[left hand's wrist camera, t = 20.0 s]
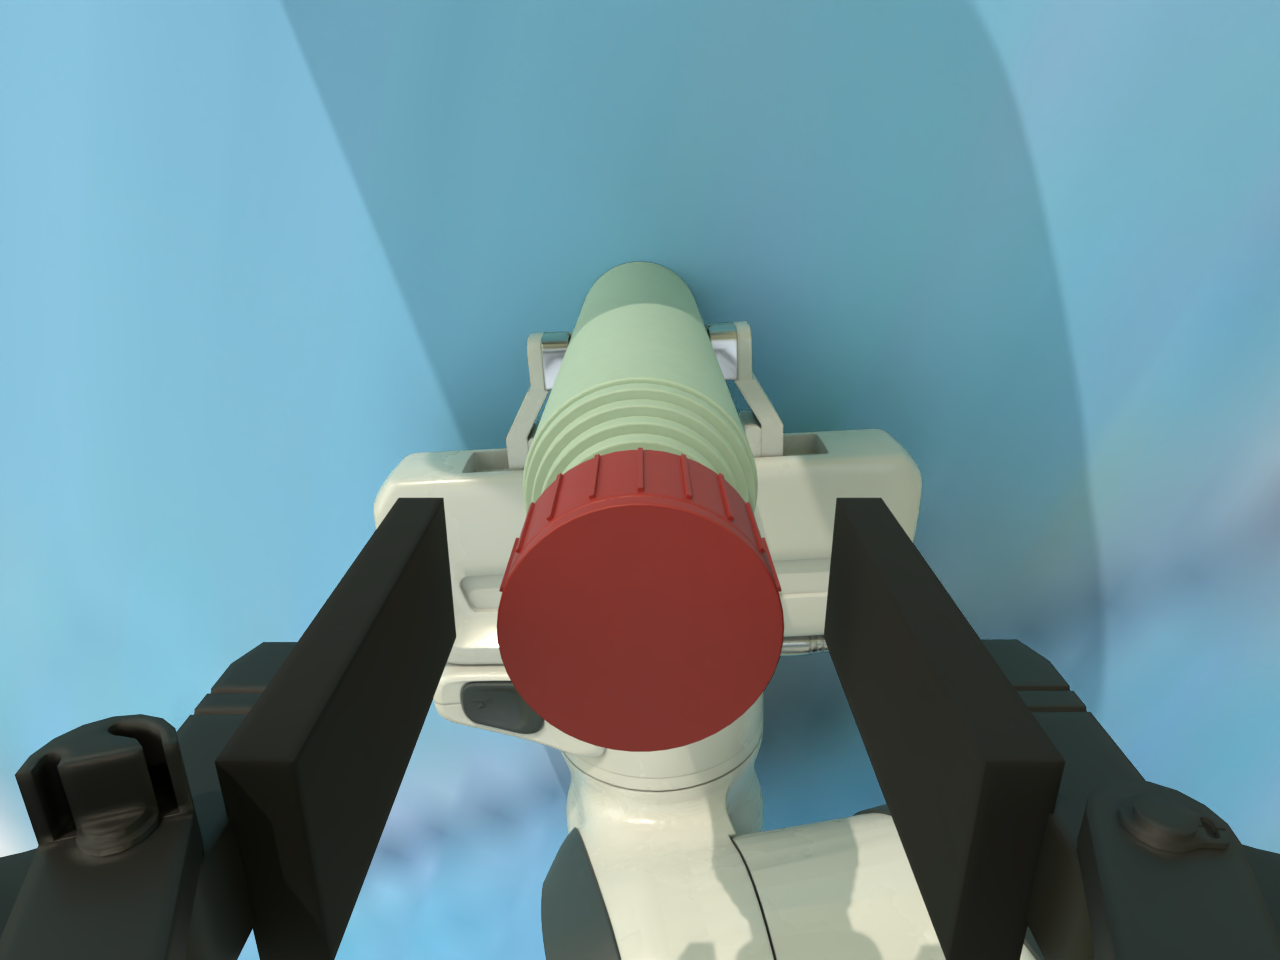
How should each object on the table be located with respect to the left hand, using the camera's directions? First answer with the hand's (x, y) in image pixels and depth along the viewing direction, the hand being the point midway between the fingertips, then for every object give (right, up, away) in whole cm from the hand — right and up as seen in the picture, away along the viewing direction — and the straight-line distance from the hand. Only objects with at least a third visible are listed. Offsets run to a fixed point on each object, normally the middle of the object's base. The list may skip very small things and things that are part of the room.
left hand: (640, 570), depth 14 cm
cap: (0, -1, -2) cm, 2 cm away
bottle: (0, +8, +21) cm, 23 cm away
